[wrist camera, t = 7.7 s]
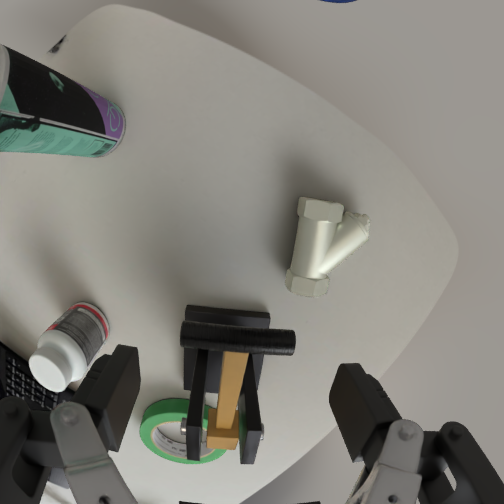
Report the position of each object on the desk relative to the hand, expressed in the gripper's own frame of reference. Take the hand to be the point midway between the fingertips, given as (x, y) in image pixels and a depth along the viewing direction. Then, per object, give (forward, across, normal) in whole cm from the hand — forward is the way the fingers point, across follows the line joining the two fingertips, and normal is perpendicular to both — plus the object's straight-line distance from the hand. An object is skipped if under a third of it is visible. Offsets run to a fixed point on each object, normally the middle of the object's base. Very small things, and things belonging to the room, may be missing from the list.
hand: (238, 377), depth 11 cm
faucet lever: (+5, 0, +5) cm, 7 cm away
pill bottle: (+17, +15, +9) cm, 24 cm away
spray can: (+17, +14, -11) cm, 25 cm away
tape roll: (+17, +4, +23) cm, 29 cm away
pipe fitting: (+17, -8, -2) cm, 19 cm away
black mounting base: (+17, 0, +10) cm, 19 cm away
